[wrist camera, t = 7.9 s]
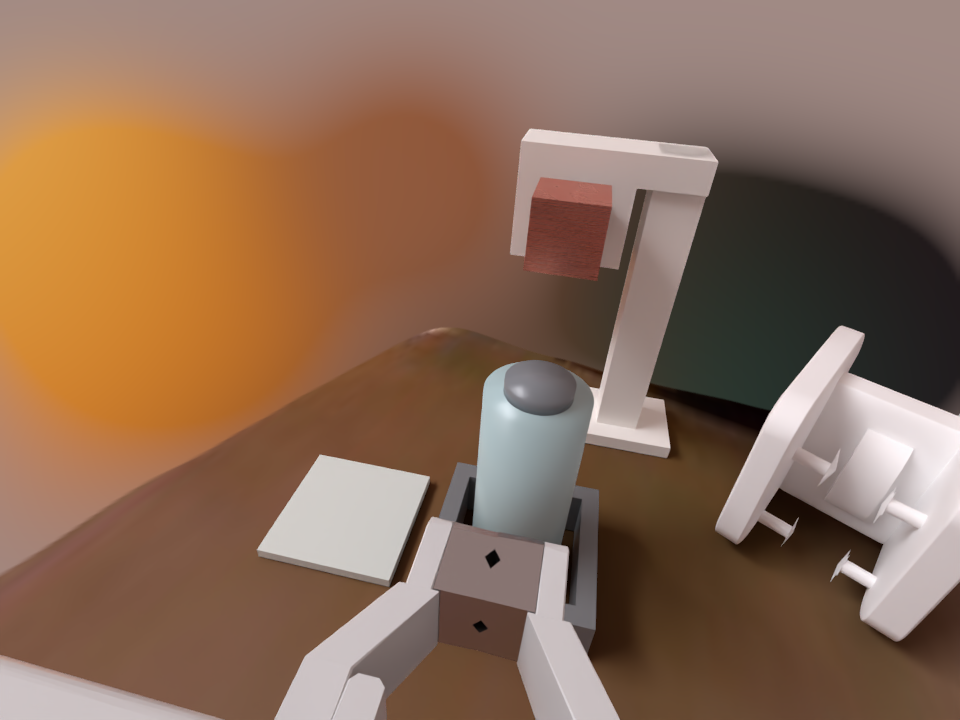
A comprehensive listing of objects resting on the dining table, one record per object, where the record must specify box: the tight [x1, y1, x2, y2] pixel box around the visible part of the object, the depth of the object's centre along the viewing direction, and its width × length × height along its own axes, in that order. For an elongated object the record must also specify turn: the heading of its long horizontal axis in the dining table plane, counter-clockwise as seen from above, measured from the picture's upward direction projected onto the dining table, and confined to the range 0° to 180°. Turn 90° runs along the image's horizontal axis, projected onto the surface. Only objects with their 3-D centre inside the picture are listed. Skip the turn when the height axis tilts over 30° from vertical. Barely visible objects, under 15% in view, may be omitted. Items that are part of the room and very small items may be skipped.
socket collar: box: [439, 462, 599, 653], centre depth 30 cm, size 9×9×3 cm
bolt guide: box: [510, 129, 718, 458], centre depth 37 cm, size 14×6×21 cm, turn 78°
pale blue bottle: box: [472, 360, 594, 545], centre depth 27 cm, size 5×5×14 cm
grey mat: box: [257, 455, 430, 587], centre depth 33 cm, size 8×8×1 cm
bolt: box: [523, 177, 612, 281], centre depth 36 cm, size 4×21×4 cm, turn 168°
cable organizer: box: [715, 326, 960, 642], centre depth 31 cm, size 15×11×12 cm
